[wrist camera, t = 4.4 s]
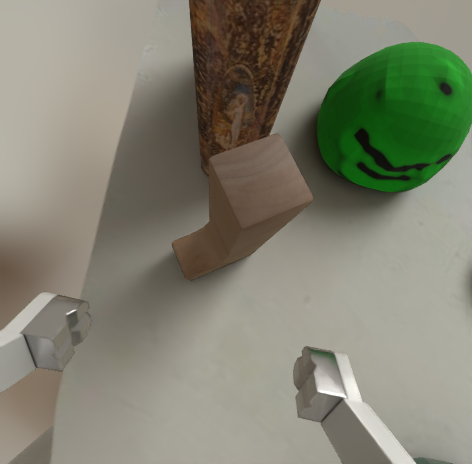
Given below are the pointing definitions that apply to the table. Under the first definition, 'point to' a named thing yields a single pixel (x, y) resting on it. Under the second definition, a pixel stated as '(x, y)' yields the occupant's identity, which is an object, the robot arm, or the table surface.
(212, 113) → the book
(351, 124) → the toy
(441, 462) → the bowl
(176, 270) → the table surface
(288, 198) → the wooden block
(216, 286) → the table surface
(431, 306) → the table surface
